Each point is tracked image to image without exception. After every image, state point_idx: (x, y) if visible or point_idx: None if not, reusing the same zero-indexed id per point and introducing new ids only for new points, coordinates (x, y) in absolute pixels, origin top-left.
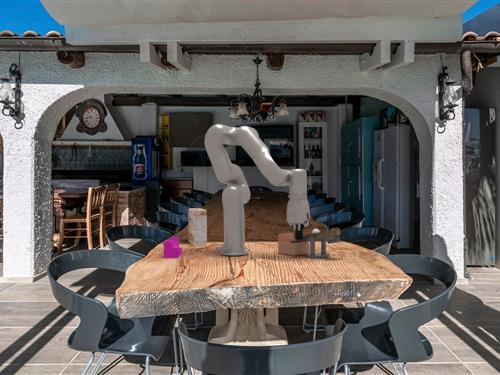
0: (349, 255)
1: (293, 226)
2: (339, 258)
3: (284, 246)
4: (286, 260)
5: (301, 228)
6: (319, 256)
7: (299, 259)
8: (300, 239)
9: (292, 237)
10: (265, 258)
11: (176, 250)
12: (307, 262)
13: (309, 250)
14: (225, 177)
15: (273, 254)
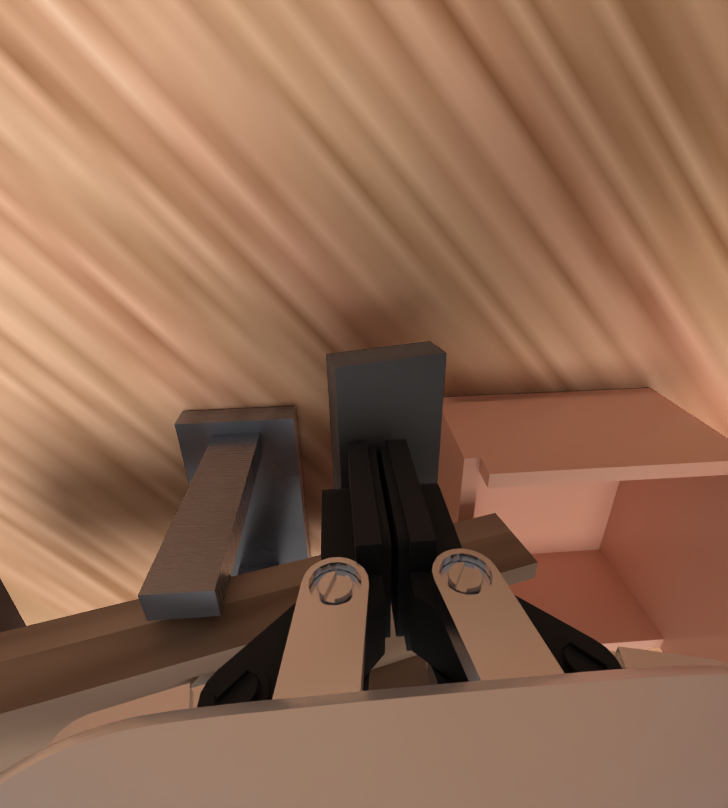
0: None
1: (529, 621)
2: (92, 555)
3: (613, 431)
4: (310, 105)
5: (282, 626)
6: (190, 470)
7: (264, 281)
8: (340, 480)
9: (677, 653)
10: (614, 20)
11: None
12: (41, 181)
13: None
14: None
15: (675, 333)
